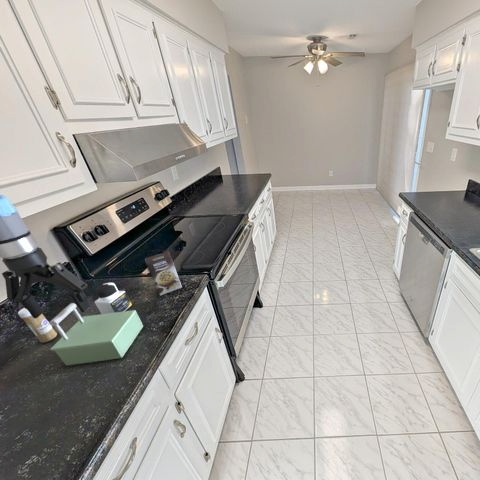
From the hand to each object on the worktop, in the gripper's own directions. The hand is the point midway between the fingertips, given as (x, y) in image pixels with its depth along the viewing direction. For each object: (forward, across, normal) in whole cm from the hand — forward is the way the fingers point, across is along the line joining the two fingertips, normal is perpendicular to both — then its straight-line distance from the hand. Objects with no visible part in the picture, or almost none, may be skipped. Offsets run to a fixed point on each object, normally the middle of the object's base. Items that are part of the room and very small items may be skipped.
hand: (62, 312), depth 78 cm
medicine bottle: (+16, 0, -18) cm, 24 cm away
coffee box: (+16, -16, -29) cm, 36 cm away
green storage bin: (+15, -7, 0) cm, 17 cm away
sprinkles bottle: (+16, +17, -7) cm, 24 cm away
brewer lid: (+9, -6, 0) cm, 11 cm away
